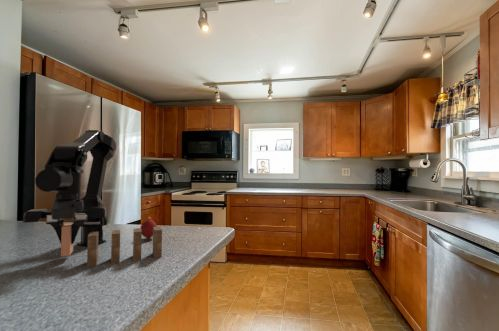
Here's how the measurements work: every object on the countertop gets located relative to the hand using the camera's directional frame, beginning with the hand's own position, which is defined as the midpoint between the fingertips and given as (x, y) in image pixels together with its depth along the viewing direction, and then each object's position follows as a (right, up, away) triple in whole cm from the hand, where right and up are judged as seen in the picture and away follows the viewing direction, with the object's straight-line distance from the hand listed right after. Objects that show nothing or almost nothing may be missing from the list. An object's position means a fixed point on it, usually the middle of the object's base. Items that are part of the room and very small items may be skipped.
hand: (67, 244), depth 73 cm
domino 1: (+9, -4, -3) cm, 11 cm away
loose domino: (0, -3, 0) cm, 3 cm away
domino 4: (+24, -5, +4) cm, 25 cm away
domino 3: (+19, -4, +1) cm, 20 cm away
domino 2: (+14, -4, -1) cm, 15 cm away
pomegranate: (+14, -5, +22) cm, 27 cm away
